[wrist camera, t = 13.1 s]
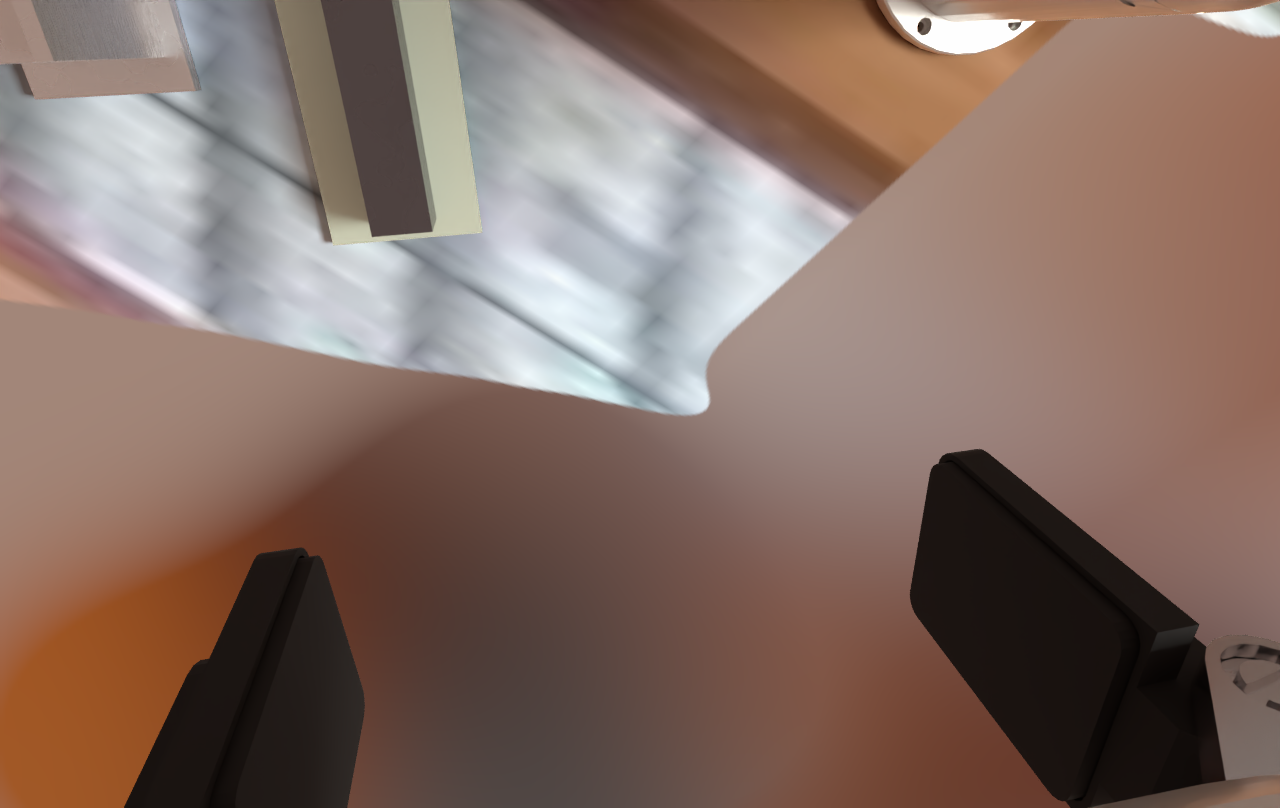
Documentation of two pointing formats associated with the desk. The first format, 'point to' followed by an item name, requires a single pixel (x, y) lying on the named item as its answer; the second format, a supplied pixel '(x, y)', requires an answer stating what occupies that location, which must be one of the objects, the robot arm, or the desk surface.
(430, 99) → the mat
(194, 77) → the rack
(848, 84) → the desk surface
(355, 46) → the rail
